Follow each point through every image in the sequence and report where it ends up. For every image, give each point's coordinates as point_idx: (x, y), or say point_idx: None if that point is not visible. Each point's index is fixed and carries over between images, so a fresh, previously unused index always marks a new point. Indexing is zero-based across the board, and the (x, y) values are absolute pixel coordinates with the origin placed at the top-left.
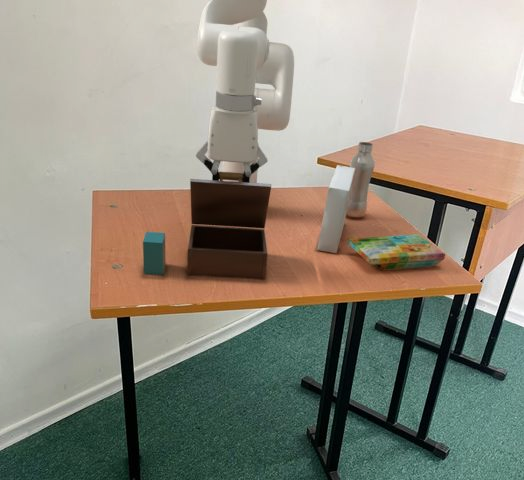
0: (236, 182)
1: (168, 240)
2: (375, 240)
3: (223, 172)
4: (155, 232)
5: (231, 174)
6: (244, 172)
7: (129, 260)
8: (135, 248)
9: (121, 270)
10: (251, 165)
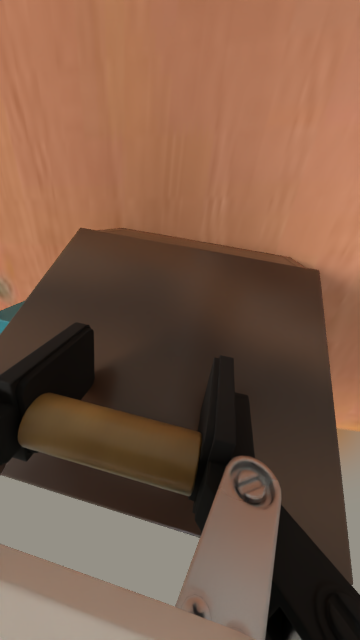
0: (140, 518)
1: (66, 143)
2: None
3: (47, 453)
4: (6, 322)
5: (107, 470)
6: (200, 512)
7: (13, 264)
8: (7, 201)
9: (13, 303)
10: (273, 607)
